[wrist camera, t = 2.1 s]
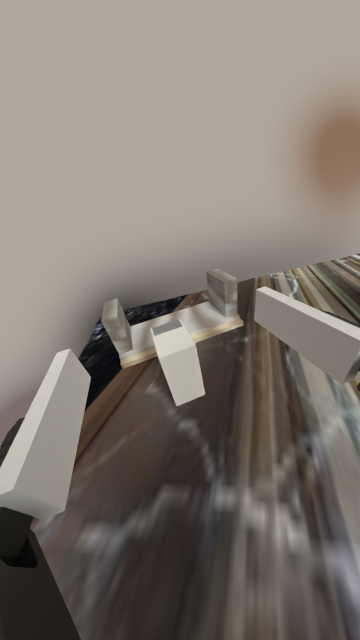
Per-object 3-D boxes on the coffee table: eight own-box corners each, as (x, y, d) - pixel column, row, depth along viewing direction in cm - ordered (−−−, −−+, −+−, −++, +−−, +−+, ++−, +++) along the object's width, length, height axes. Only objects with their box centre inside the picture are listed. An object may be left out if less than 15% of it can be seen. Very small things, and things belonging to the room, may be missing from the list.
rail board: (215, 302, 52) (212, 266, 46) (243, 325, 40) (243, 281, 34) (122, 333, 48) (105, 298, 42) (122, 368, 36) (99, 327, 30)
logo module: (190, 364, 34) (179, 316, 28) (205, 394, 28) (195, 343, 22) (166, 373, 33) (149, 326, 27) (176, 406, 27) (157, 356, 21)
